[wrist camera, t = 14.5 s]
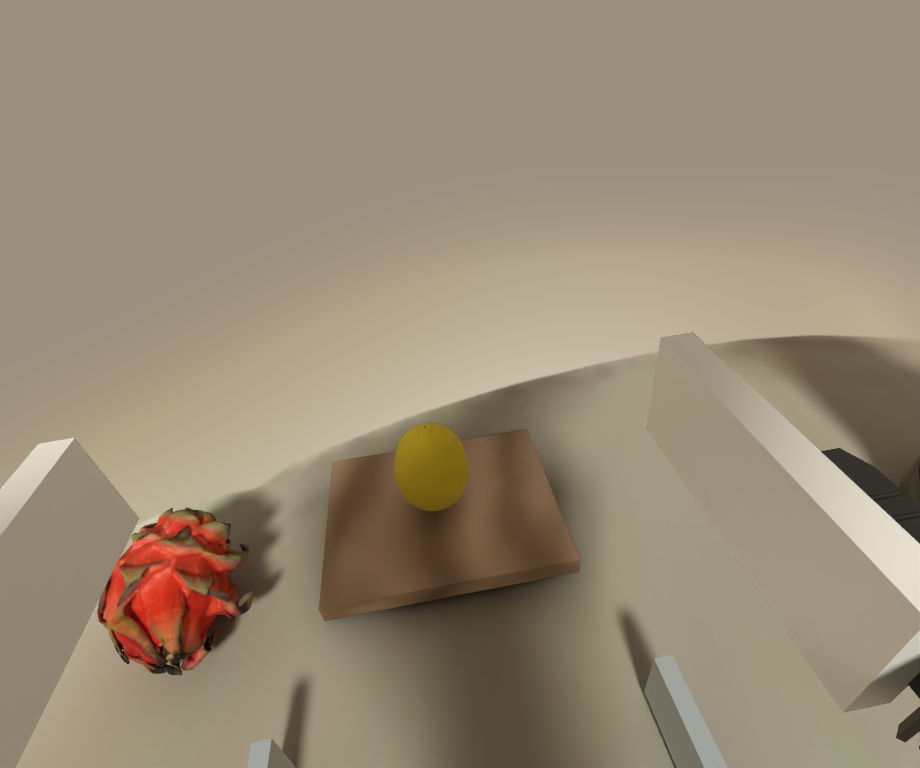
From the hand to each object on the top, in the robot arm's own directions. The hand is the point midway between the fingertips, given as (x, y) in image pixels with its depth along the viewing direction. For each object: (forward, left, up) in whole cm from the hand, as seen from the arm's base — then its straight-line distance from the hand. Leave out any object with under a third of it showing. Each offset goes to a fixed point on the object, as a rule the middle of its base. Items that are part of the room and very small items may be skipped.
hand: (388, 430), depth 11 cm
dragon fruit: (+17, -12, -24) cm, 32 cm away
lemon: (0, -17, -23) cm, 28 cm away
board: (-1, -17, -24) cm, 29 cm away
